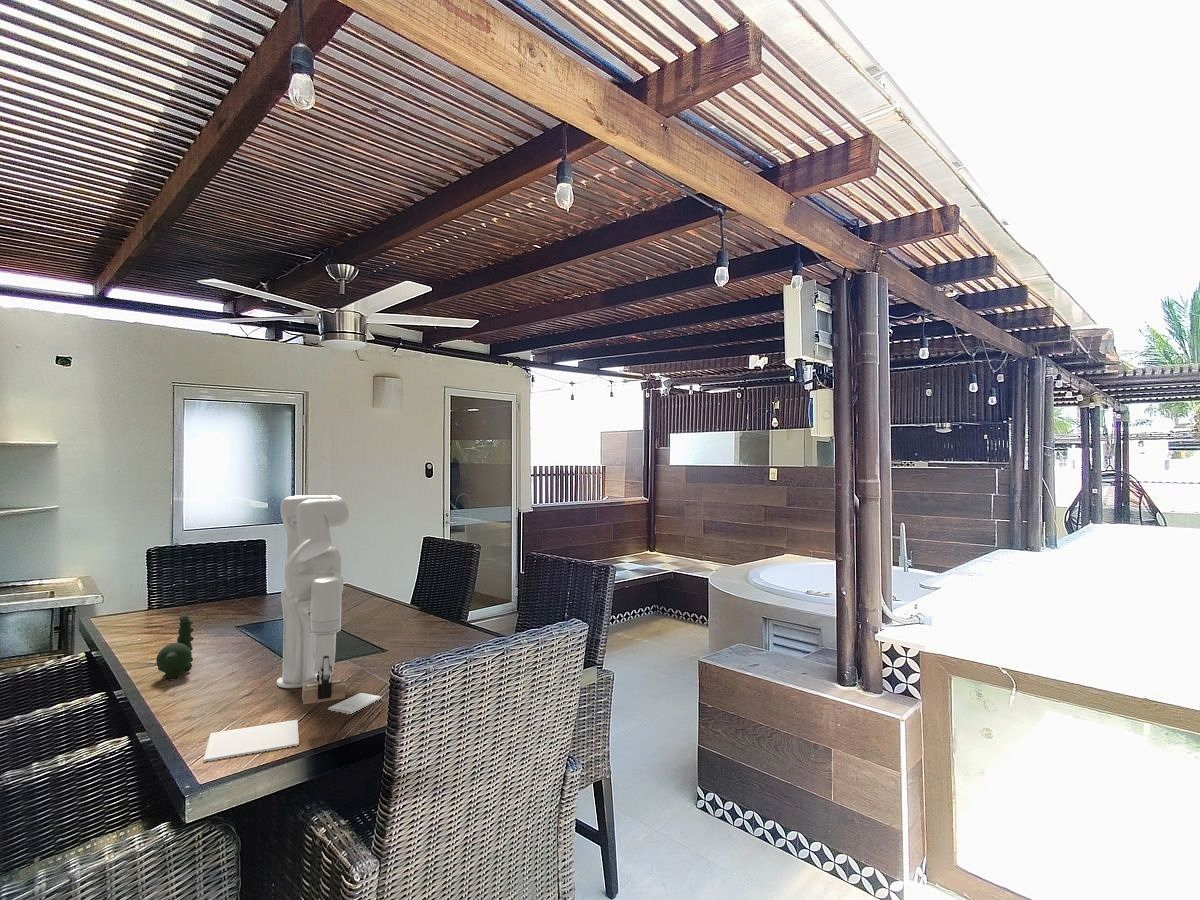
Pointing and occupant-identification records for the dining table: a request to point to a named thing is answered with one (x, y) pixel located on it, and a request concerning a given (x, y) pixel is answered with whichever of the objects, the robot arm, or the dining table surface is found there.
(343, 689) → the slotted tan block
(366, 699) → the external hard drive
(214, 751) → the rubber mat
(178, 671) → the toy figurine
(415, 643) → the dining table surface
